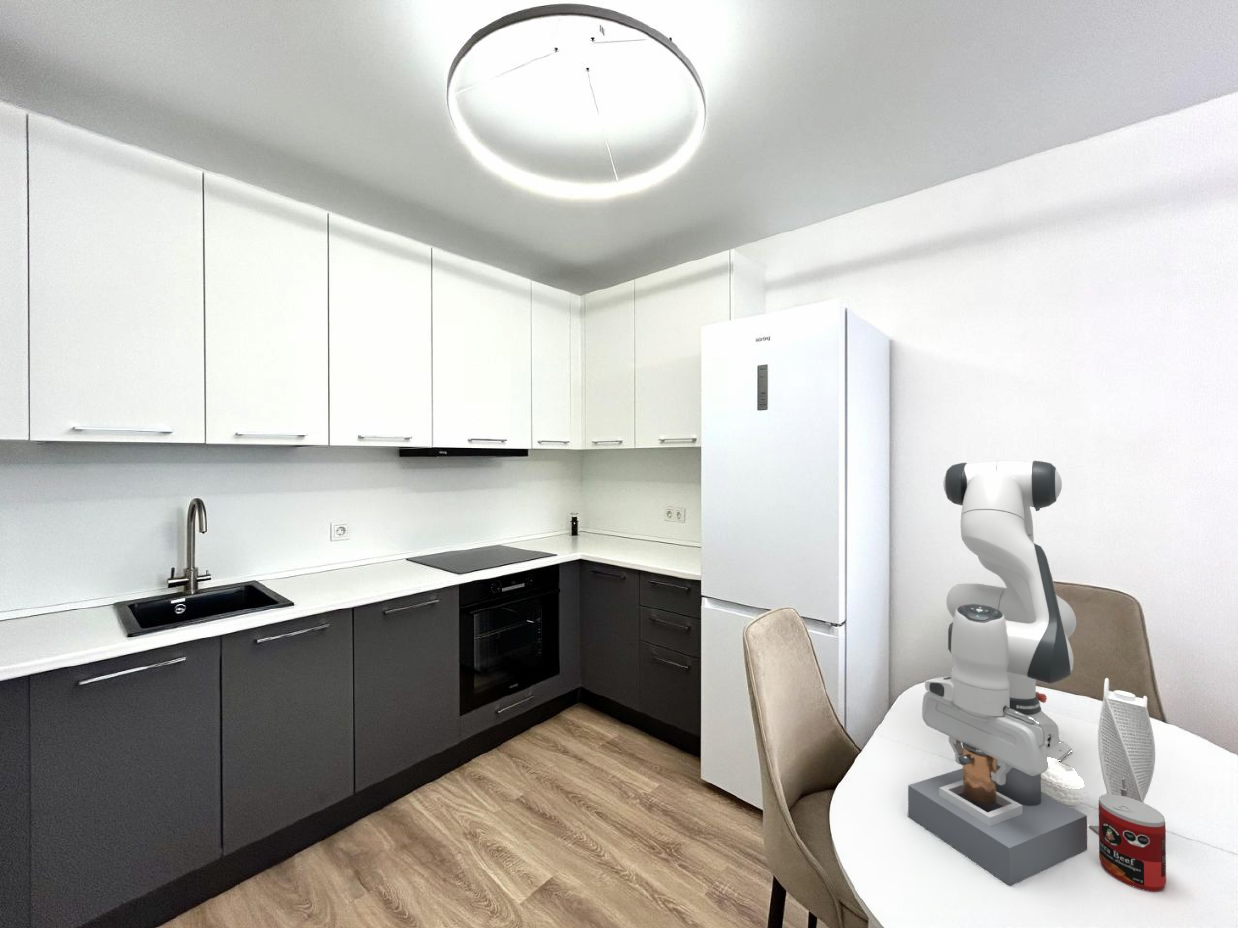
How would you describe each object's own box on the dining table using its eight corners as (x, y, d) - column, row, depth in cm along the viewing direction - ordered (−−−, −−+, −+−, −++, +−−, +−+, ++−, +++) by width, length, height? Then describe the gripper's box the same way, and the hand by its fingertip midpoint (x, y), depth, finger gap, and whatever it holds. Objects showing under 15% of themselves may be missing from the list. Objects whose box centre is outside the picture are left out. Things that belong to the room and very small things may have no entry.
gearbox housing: (981, 791, 107) (981, 738, 107) (1087, 849, 90) (1086, 786, 91) (908, 816, 99) (908, 758, 99) (1009, 885, 82) (1009, 816, 82)
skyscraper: (1082, 822, 98) (1081, 675, 98) (1125, 823, 97) (1124, 676, 98) (1124, 854, 89) (1122, 693, 90) (1172, 856, 89) (1170, 695, 90)
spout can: (974, 784, 96) (974, 736, 97) (1003, 800, 92) (1003, 750, 92) (948, 792, 94) (948, 743, 94) (977, 810, 89) (977, 757, 89)
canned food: (1086, 858, 88) (1086, 793, 89) (1128, 856, 89) (1127, 792, 89) (1134, 894, 81) (1134, 823, 81) (1180, 891, 81) (1179, 821, 82)
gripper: (1056, 718, 85) (1056, 802, 85) (938, 674, 104) (938, 742, 104) (1033, 724, 83) (1033, 811, 82) (917, 678, 102) (916, 748, 101)
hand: (979, 772), depth 93 cm, fingers closed on spout can, 5 cm apart
